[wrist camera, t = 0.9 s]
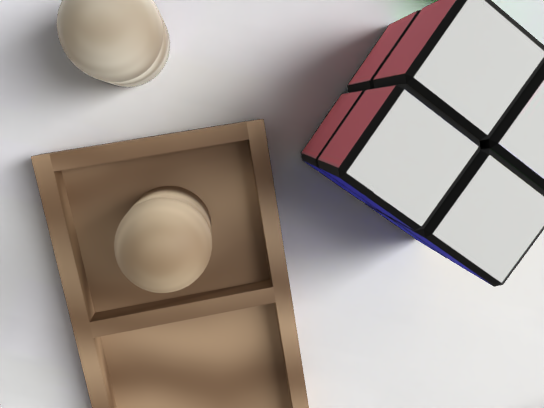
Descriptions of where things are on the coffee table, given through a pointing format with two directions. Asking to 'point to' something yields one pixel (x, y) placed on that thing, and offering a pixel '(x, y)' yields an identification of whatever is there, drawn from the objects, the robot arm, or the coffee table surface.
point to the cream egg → (114, 39)
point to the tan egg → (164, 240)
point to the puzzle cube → (446, 134)
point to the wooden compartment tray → (190, 300)
